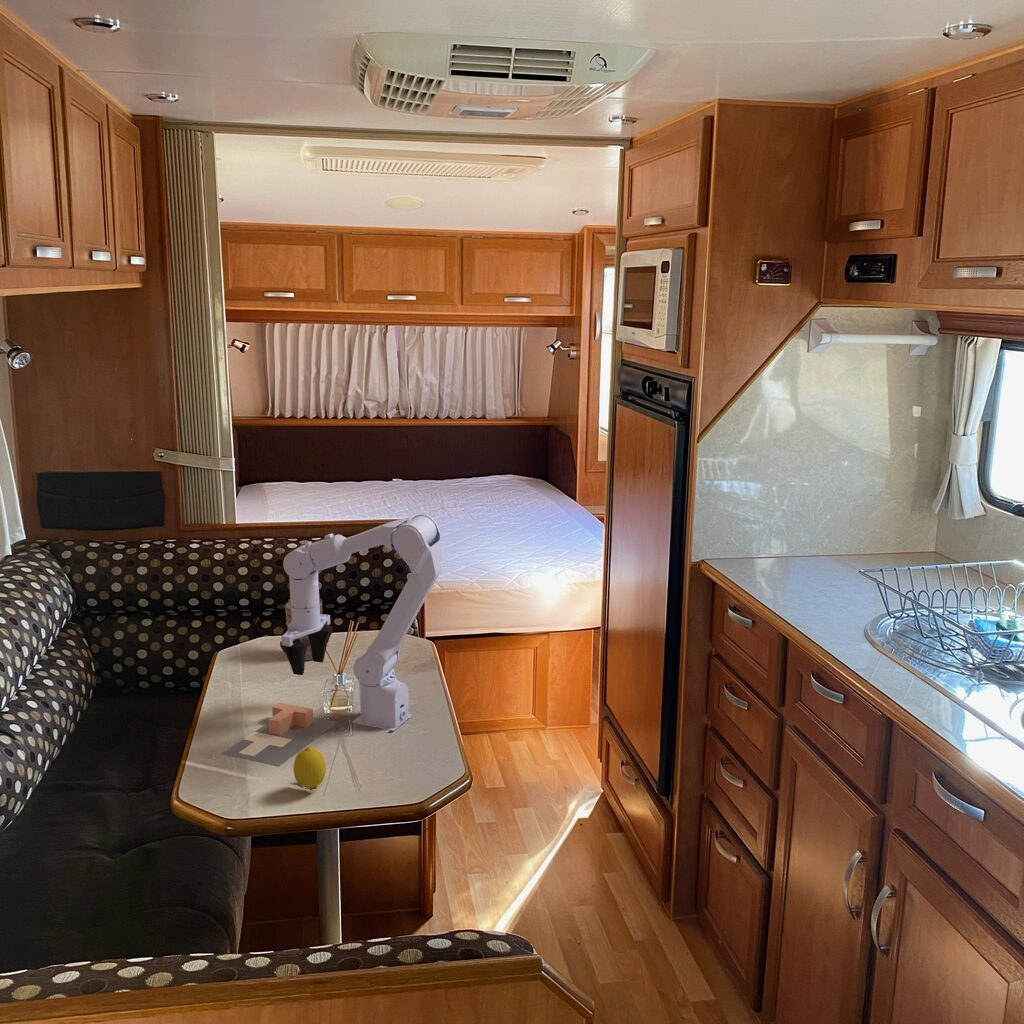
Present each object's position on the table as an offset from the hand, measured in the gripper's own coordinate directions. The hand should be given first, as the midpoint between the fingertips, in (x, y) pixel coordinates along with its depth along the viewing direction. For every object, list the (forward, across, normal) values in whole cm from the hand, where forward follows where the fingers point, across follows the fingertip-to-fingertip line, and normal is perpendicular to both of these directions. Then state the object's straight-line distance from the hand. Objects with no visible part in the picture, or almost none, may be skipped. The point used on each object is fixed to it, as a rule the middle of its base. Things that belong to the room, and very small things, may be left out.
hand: (308, 667), depth 200 cm
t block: (+9, +9, 0) cm, 13 cm away
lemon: (+10, +27, +18) cm, 34 cm away
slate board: (+10, +13, +2) cm, 16 cm away
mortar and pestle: (+10, -28, -20) cm, 36 cm away
